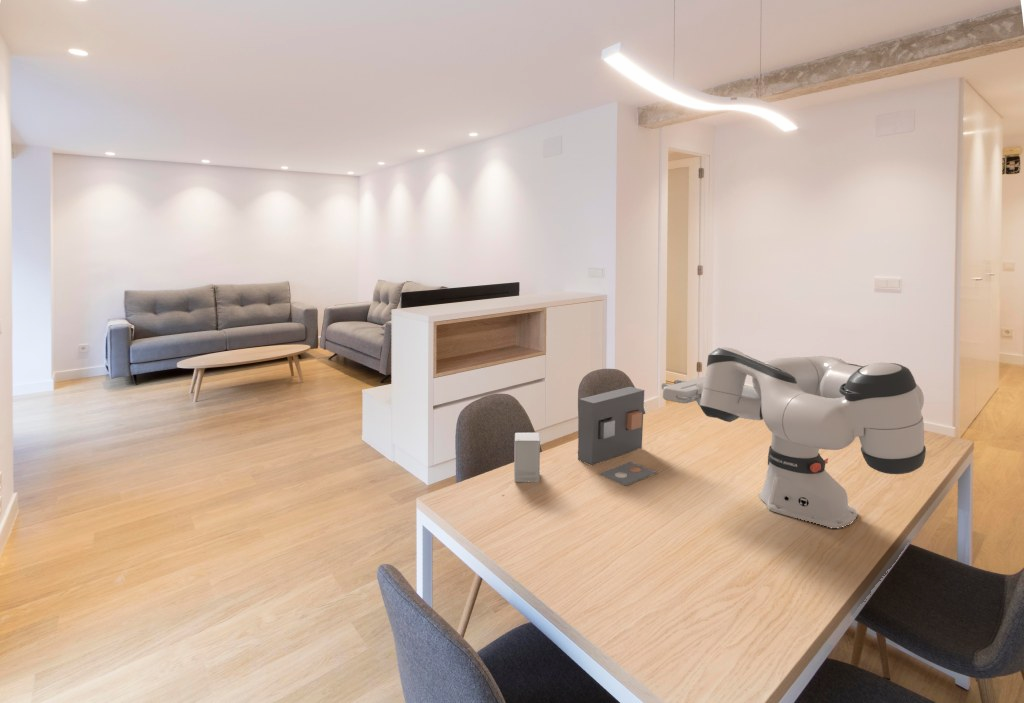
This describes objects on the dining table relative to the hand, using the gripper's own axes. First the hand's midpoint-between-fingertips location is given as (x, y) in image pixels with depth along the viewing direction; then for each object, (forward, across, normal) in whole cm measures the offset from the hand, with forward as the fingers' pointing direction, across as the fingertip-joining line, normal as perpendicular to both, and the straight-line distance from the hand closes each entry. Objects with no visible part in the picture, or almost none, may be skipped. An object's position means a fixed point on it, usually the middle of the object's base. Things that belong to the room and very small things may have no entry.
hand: (669, 384), depth 164 cm
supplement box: (+20, -38, -26) cm, 51 cm away
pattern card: (+3, -13, -26) cm, 29 cm away
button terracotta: (+14, +1, -17) cm, 22 cm away
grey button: (+14, -12, -18) cm, 25 cm away
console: (+17, -5, -26) cm, 32 cm away
